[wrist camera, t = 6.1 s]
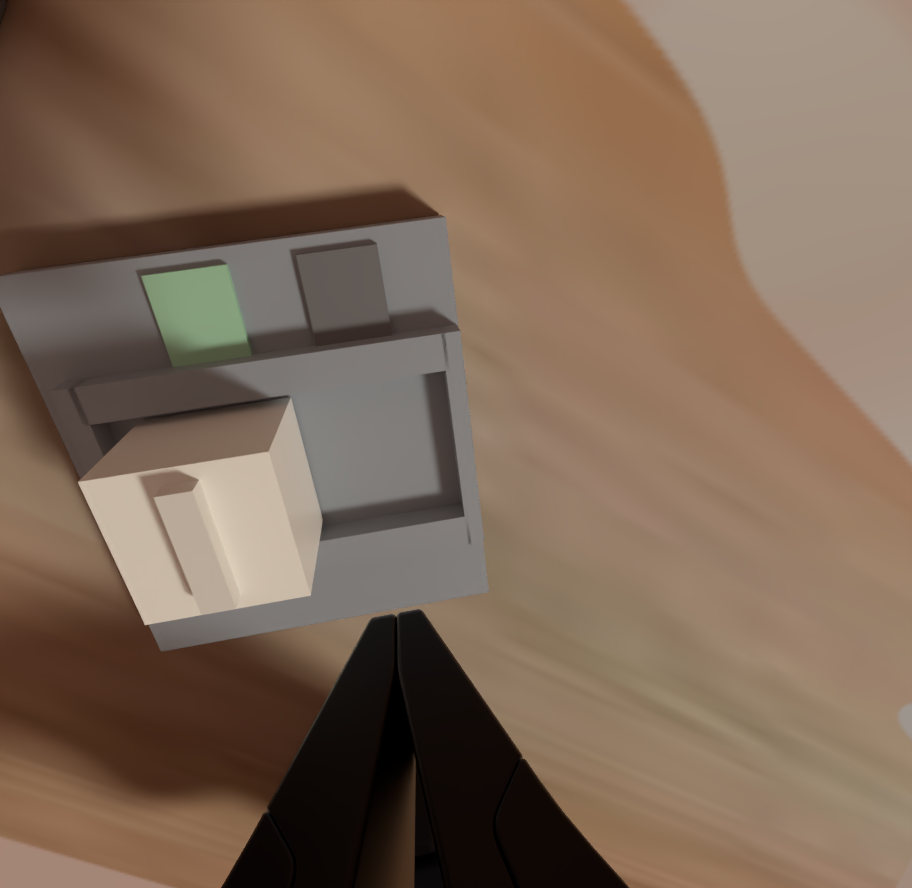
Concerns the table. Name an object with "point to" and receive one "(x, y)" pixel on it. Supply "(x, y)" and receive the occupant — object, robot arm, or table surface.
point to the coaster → (2, 8)
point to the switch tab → (209, 510)
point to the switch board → (285, 393)
